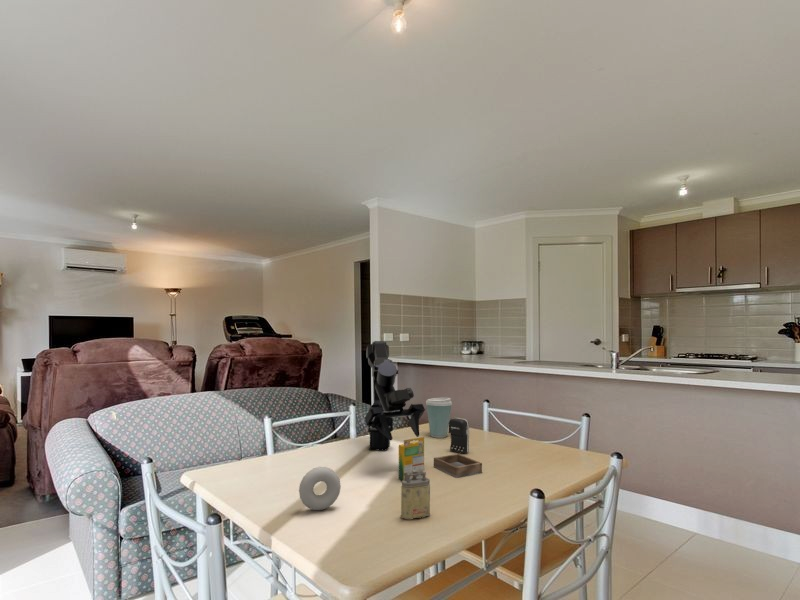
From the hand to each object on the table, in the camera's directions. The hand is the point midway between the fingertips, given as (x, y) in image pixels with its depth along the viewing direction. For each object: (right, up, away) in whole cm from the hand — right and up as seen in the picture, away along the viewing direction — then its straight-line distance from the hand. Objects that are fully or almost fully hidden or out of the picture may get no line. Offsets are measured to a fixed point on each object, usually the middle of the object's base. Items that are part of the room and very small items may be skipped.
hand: (405, 437), depth 137 cm
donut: (-21, -9, -27) cm, 35 cm away
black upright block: (+19, -12, +24) cm, 33 cm away
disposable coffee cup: (+14, -14, +47) cm, 51 cm away
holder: (+16, -11, +4) cm, 20 cm away
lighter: (+2, -9, -30) cm, 31 cm away
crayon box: (+2, -11, -4) cm, 11 cm away
